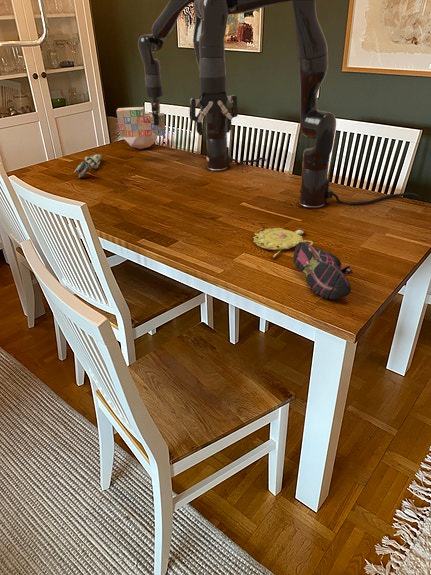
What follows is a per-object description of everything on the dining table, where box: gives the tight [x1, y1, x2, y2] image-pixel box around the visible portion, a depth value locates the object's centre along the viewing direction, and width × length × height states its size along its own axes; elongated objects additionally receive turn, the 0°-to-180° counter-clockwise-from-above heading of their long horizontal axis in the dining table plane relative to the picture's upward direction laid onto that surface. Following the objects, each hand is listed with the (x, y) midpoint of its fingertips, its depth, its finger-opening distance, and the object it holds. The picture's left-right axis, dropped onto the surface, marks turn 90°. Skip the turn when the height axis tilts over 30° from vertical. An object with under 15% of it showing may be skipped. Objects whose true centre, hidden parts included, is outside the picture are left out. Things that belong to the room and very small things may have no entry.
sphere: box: [123, 111, 158, 150], centre depth 235 cm, size 19×20×20 cm
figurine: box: [73, 154, 103, 179], centre depth 208 cm, size 7×8×30 cm
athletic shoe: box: [292, 242, 354, 300], centre depth 118 cm, size 11×22×12 cm
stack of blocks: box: [116, 106, 166, 139], centre depth 208 cm, size 21×6×12 cm, turn 92°
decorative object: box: [252, 227, 314, 259], centre depth 140 cm, size 21×2×20 cm
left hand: (157, 123), depth 209 cm, fingers closed on stack of blocks, 6 cm apart
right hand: (214, 133), depth 134 cm, fingers open, 8 cm apart
